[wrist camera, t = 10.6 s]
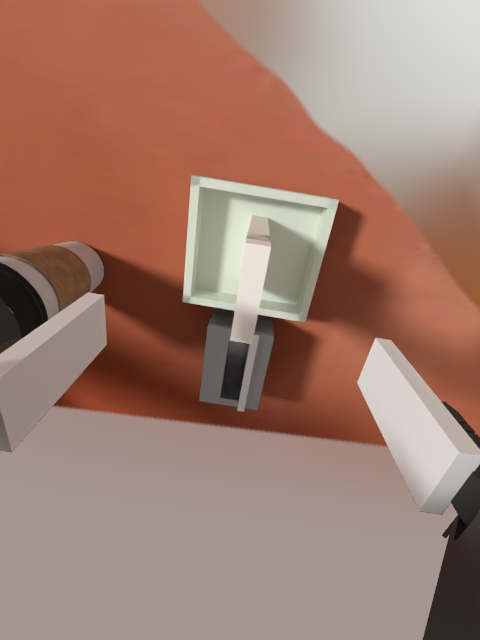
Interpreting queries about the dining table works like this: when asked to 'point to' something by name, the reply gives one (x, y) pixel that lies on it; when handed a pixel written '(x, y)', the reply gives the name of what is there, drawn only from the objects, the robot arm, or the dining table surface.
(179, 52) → the dining table surface
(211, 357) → the dispenser
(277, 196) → the tray
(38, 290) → the coffee cup
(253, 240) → the white striped flat box
